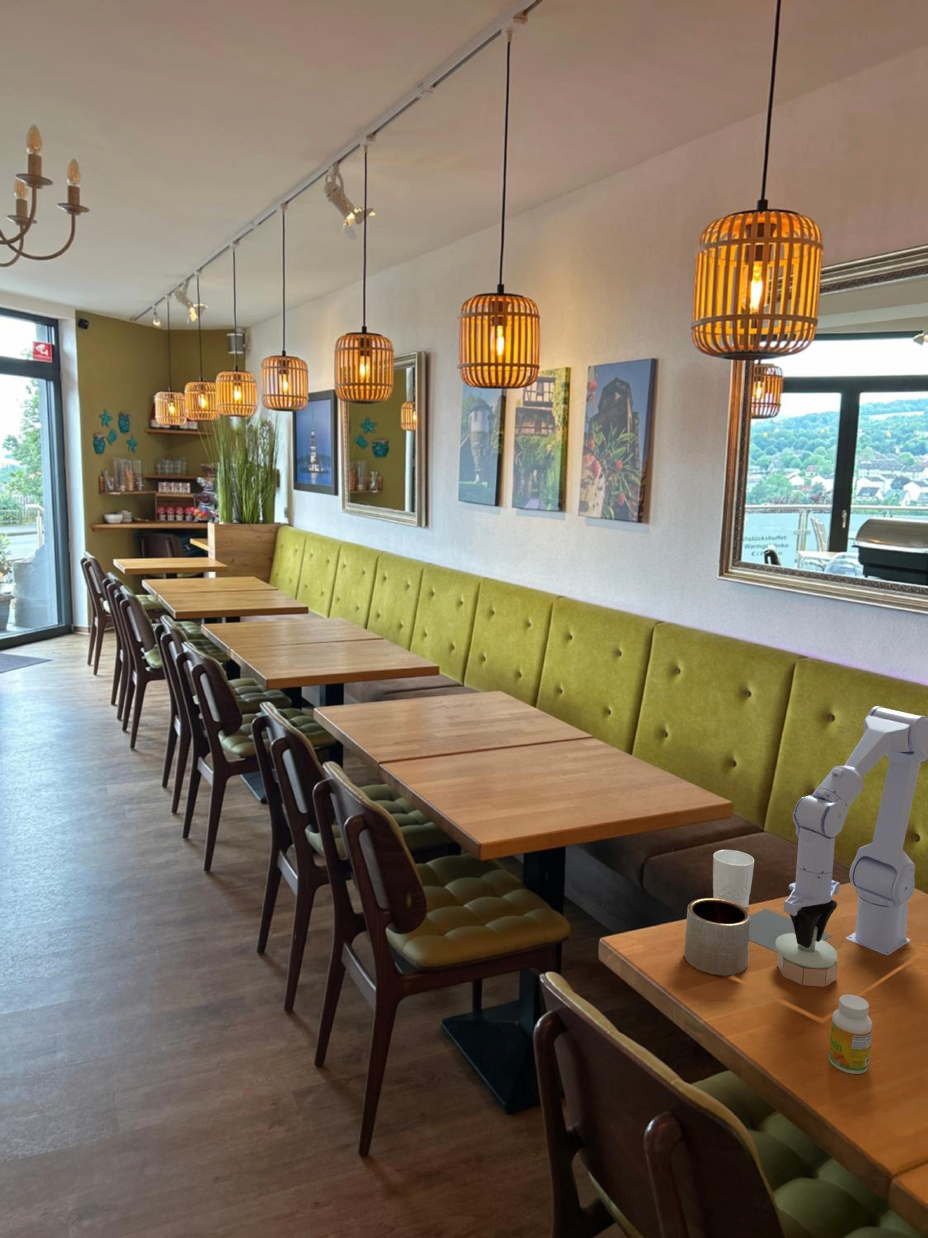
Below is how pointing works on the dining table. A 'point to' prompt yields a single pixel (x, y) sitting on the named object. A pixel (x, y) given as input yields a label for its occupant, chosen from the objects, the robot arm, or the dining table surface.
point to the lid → (806, 951)
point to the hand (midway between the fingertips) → (808, 942)
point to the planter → (717, 936)
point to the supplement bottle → (851, 1035)
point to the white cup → (732, 876)
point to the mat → (771, 928)
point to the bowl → (807, 973)
